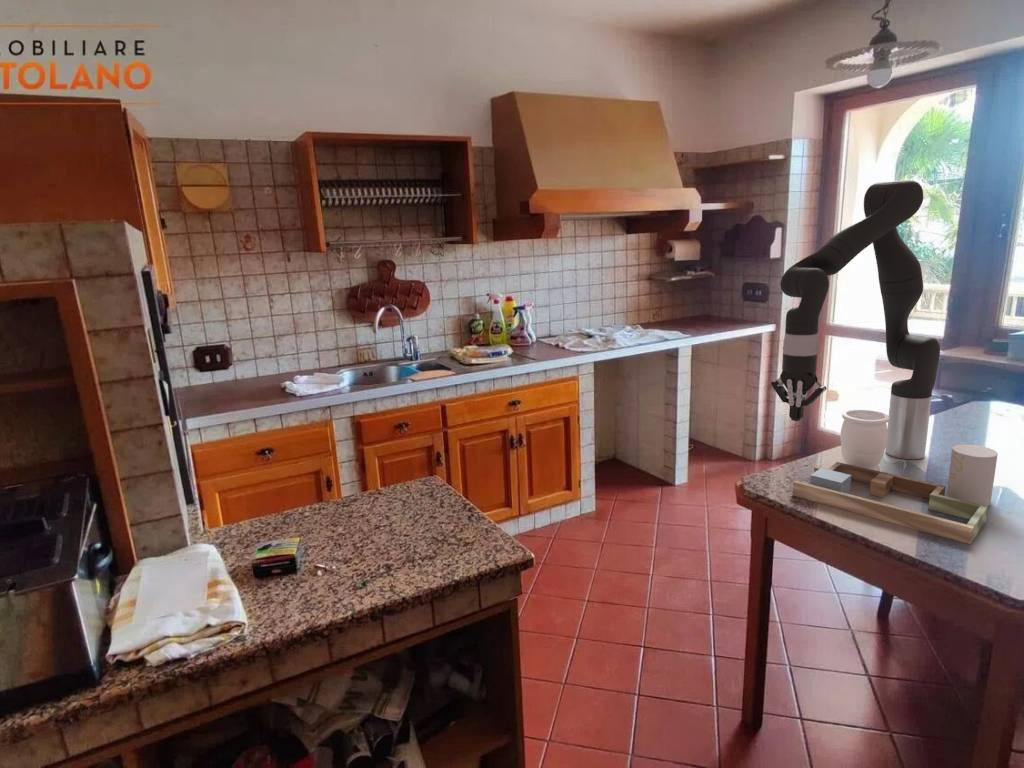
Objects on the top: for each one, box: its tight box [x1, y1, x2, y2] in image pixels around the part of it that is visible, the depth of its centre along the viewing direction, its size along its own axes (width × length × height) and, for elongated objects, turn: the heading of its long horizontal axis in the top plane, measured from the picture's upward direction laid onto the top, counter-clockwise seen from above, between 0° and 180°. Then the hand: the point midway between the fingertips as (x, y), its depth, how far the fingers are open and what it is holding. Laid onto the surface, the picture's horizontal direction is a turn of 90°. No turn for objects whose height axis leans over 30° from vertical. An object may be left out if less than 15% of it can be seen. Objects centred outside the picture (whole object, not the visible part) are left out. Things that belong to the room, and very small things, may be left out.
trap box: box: [792, 461, 989, 545], centre depth 137 cm, size 19×35×4 cm, turn 41°
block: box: [809, 467, 852, 495], centre depth 143 cm, size 6×7×5 cm
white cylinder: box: [945, 443, 998, 507], centre depth 135 cm, size 8×8×12 cm
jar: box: [839, 409, 889, 472], centre depth 155 cm, size 11×10×15 cm
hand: (795, 420), depth 146 cm, fingers closed
